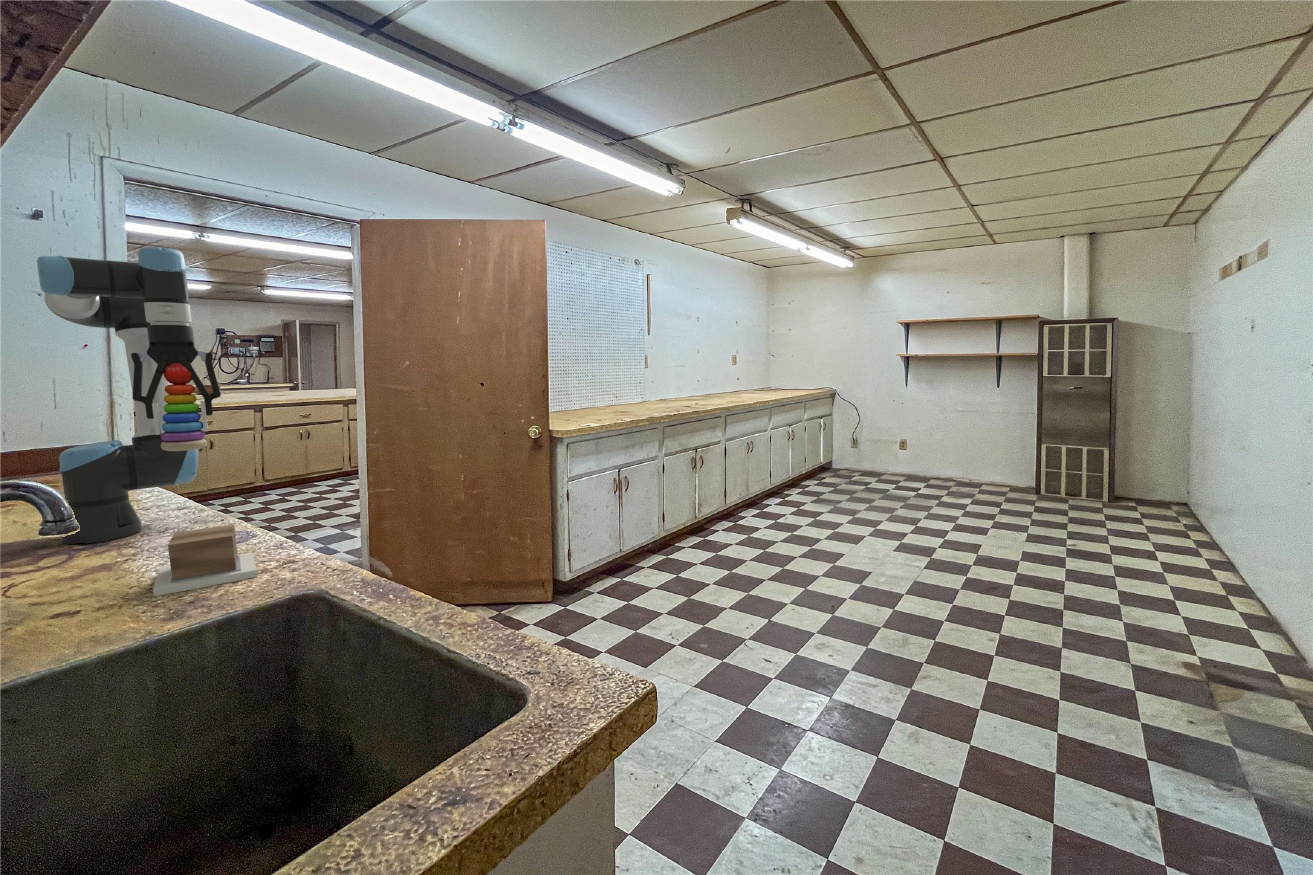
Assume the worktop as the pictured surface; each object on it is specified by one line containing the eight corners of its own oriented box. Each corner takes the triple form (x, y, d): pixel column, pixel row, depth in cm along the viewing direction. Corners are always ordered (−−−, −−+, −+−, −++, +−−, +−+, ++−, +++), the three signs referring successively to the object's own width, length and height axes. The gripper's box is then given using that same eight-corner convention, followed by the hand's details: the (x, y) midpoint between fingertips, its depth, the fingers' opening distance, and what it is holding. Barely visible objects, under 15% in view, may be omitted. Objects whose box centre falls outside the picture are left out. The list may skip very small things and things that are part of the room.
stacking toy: (182, 452, 126) (171, 362, 123) (151, 451, 127) (140, 362, 124) (217, 446, 133) (207, 361, 131) (187, 445, 135) (177, 361, 132)
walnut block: (178, 565, 123) (174, 532, 122) (237, 556, 128) (234, 524, 127) (172, 580, 115) (167, 545, 114) (236, 569, 120) (232, 535, 119)
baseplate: (160, 574, 123) (158, 566, 122) (254, 558, 132) (253, 551, 132) (153, 596, 111) (152, 587, 111) (257, 576, 121) (256, 568, 120)
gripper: (102, 322, 118) (118, 438, 121) (228, 324, 129) (240, 430, 132) (108, 324, 124) (122, 434, 127) (228, 326, 135) (239, 427, 139)
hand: (182, 432), depth 130 cm, fingers closed on stacking toy, 7 cm apart
